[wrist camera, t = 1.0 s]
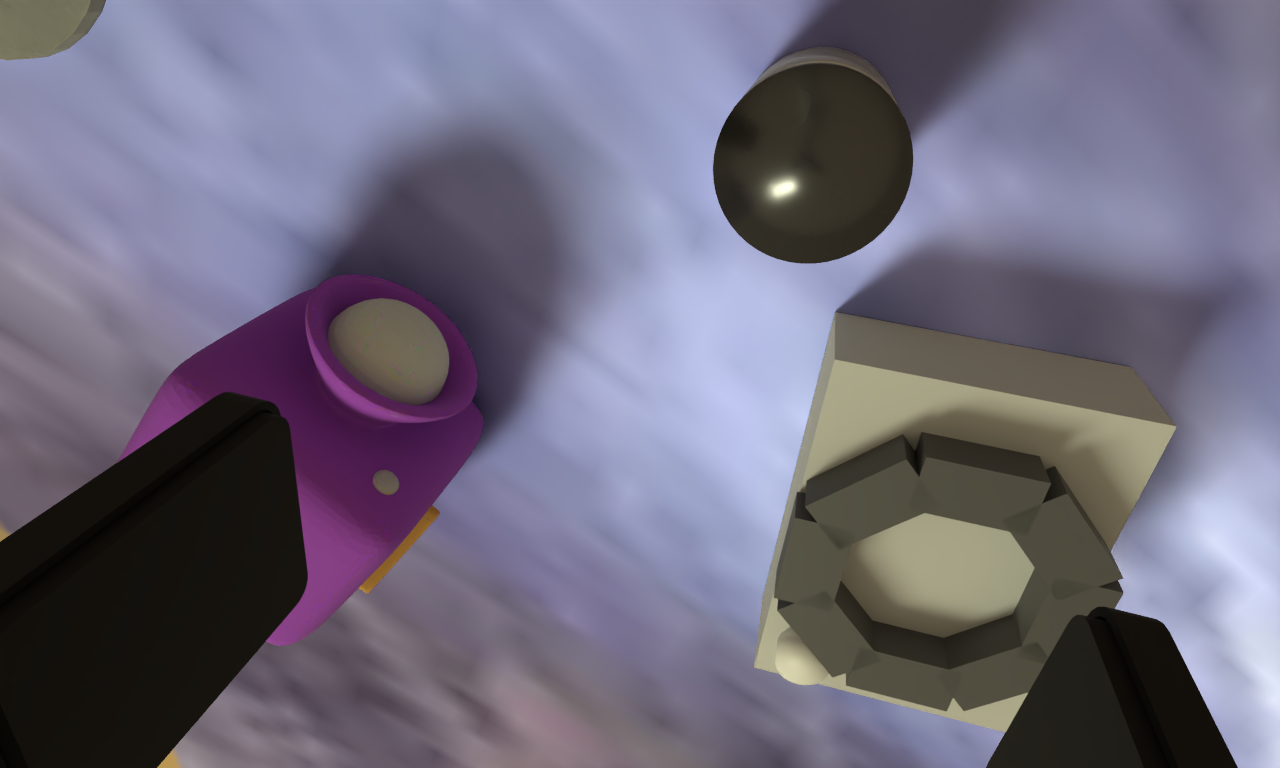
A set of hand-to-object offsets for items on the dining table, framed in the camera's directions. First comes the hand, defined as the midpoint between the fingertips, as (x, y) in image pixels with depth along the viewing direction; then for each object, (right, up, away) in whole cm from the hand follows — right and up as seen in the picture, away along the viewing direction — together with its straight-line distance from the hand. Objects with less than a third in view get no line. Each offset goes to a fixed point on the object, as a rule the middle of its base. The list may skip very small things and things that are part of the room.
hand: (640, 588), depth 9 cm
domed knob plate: (+11, -2, +21) cm, 24 cm away
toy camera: (-11, +3, +24) cm, 27 cm away
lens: (+6, +11, +16) cm, 20 cm away
